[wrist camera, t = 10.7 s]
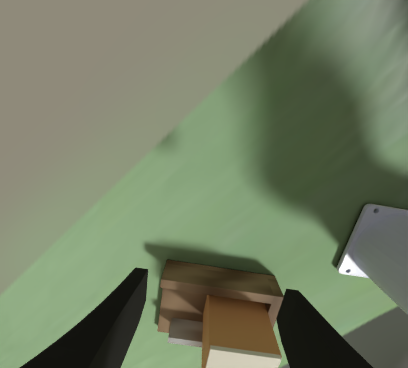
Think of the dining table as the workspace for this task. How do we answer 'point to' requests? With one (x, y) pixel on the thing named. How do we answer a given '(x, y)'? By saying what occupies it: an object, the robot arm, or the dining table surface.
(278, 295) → the shelf
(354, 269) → the robot arm
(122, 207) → the dining table surface
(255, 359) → the tan block
